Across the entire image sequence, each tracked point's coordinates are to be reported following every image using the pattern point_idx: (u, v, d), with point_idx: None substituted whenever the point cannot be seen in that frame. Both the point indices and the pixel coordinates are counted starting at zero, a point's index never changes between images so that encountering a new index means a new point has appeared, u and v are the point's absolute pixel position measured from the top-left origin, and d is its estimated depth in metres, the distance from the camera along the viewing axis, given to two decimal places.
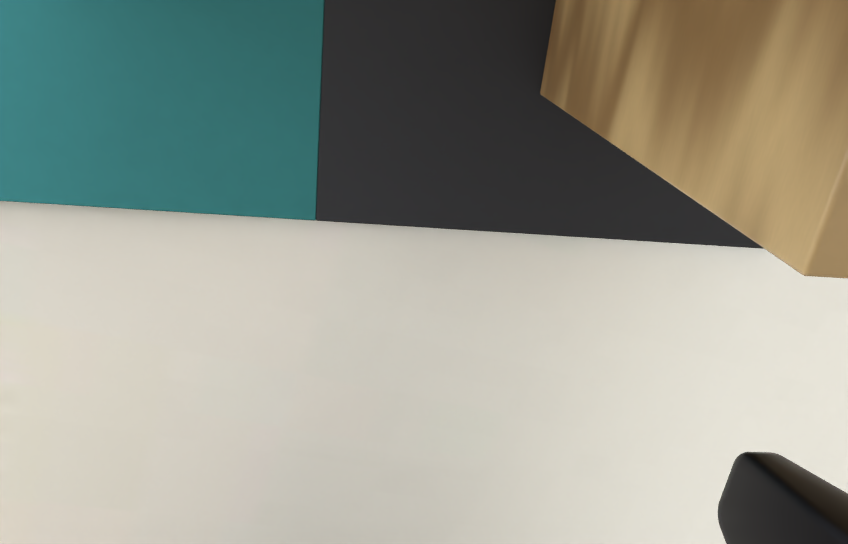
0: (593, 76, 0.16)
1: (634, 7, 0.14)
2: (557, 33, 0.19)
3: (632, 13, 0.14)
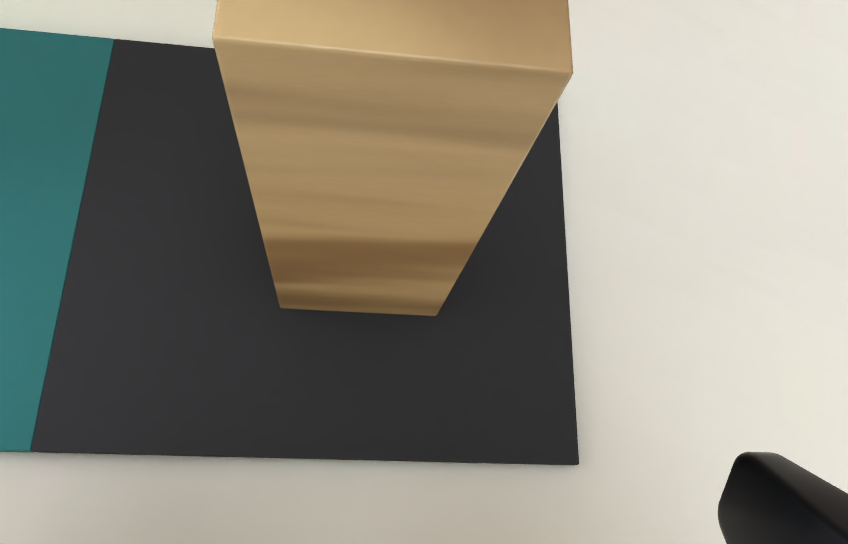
0: None
1: None
2: None
3: None
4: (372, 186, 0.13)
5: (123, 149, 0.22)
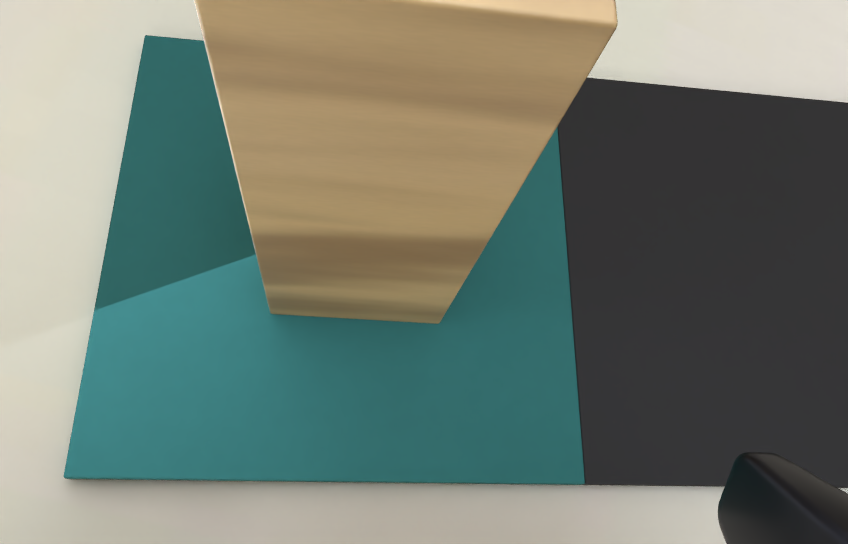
0: None
1: None
2: None
3: None
4: (375, 170, 0.11)
5: (589, 183, 0.22)
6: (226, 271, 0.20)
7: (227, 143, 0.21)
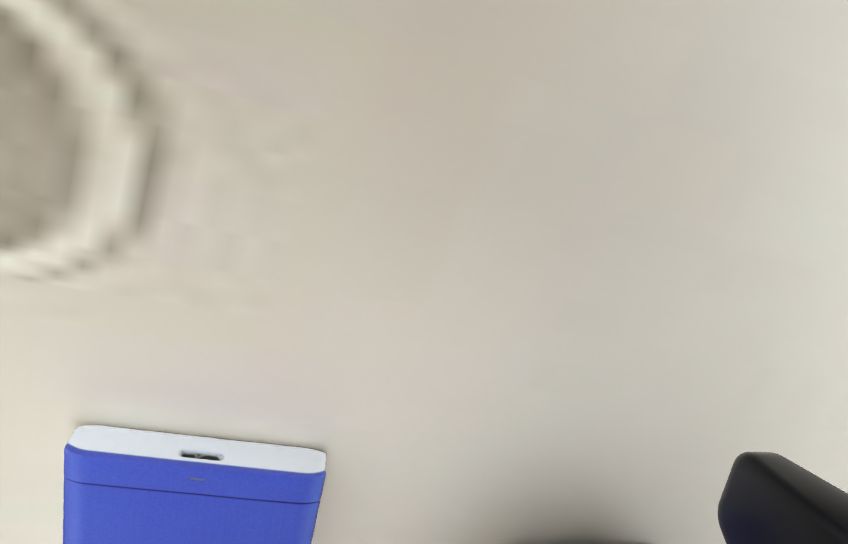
0: None
1: None
2: None
3: None
4: None
5: None
6: None
7: None
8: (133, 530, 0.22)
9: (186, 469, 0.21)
